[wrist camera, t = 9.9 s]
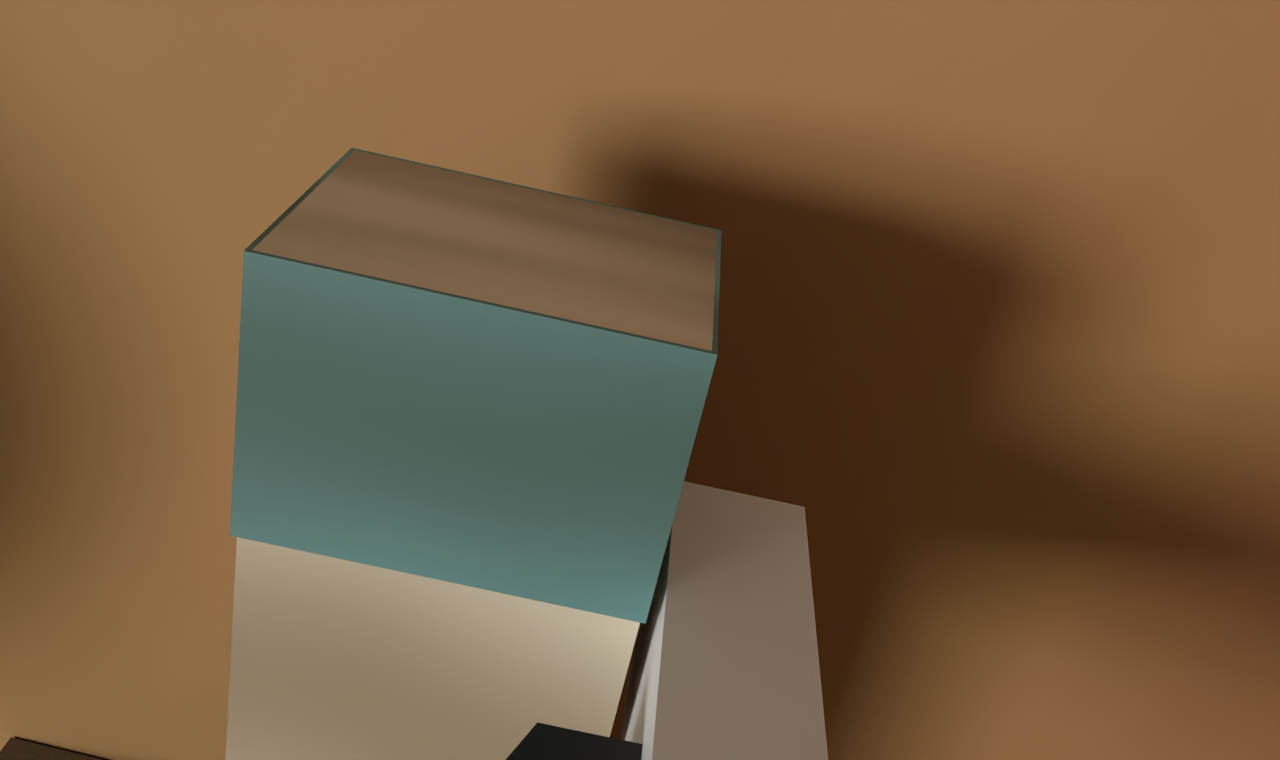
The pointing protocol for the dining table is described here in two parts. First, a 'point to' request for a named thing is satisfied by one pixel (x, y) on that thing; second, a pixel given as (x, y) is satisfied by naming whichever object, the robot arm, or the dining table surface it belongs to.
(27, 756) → the keeper
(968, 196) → the dining table surface
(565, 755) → the robot arm
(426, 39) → the dining table surface
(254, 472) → the link
